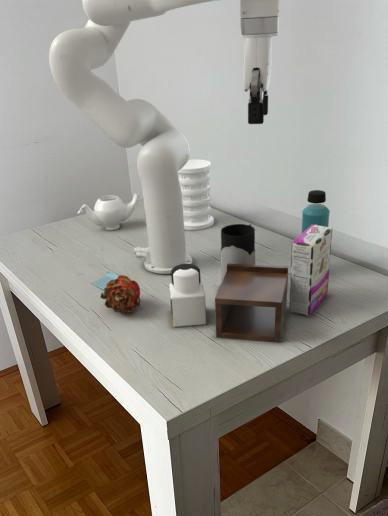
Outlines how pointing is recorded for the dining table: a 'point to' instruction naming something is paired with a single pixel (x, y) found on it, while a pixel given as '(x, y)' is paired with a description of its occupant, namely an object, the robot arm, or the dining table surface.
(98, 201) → the teapot
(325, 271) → the candy bar box
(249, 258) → the black and white mug
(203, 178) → the decorative container
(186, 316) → the medicine bottle
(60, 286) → the dining table surface
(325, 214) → the beverage bottle
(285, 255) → the dining table surface
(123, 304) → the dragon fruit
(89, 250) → the dining table surface
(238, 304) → the dark wooden cubby
